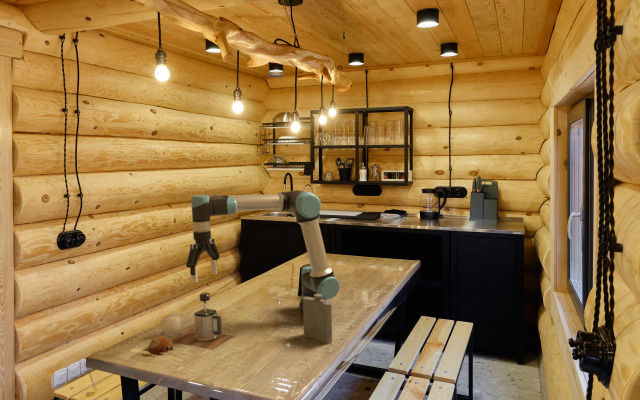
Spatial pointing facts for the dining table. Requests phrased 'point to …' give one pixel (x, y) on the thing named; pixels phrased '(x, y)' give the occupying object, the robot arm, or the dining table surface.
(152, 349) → the bread roll
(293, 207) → the robot arm
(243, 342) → the dining table surface
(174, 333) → the cream egg shape
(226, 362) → the dining table surface
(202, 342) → the board
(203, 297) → the plunger
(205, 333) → the grey faceted handled container
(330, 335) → the grey upright slab
